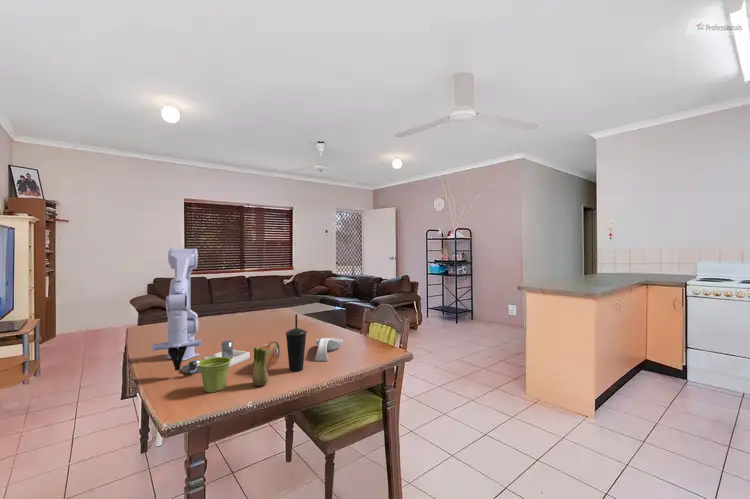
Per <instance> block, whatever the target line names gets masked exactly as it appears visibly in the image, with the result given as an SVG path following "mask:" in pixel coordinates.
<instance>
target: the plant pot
mask: <svg viewBox="0 0 750 499" xmlns="http://www.w3.org/2000/svg"><path fill="white" fill-rule="evenodd" d="M230 362H231V359H230V358H227V357H213V358H208V359H204V360H203V359H202V360H200V362H198V365H199V366H200V370H201V372H200V373H201V380H202V384H203V391H205V393H215V392H218V391H224V389H225V388H226V384H227V378H228V372H229V368H230V367H229V364H230ZM228 367H229V368H228Z"/></svg>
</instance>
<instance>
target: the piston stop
mask: <svg viewBox="0 0 750 499" xmlns="http://www.w3.org/2000/svg"><path fill="white" fill-rule="evenodd" d="M233 346H234V342H233V340H231V339H229V340H224V341H221V351H222V357H227V358H230V359H232V358H233V350H234V347H233Z"/></svg>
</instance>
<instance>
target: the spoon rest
mask: <svg viewBox="0 0 750 499" xmlns="http://www.w3.org/2000/svg"><path fill="white" fill-rule="evenodd" d="M315 343H316V345H317V346H318V347H317V351H316V355H315V361H316V362H326V361H328V359H329V356H328V352H331V351H335V350H336V349H338V348H339V347H340V346H341V345H342V344H343V339H342V338H338V337H337V338H336V337H326V338H324V337H323V338H319V339H318V338H317V339H316V340H315Z"/></svg>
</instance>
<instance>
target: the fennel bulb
mask: <svg viewBox="0 0 750 499" xmlns="http://www.w3.org/2000/svg"><path fill="white" fill-rule="evenodd" d="M265 355H266V350H265V349H263V347H262V348H259V347H258V346H254V347H253V368H252V383H253V386H255V387H262V386H265V385H267V383H268V382H269V373H268V371H267V370H268V369H267V370H266V363H265Z"/></svg>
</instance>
